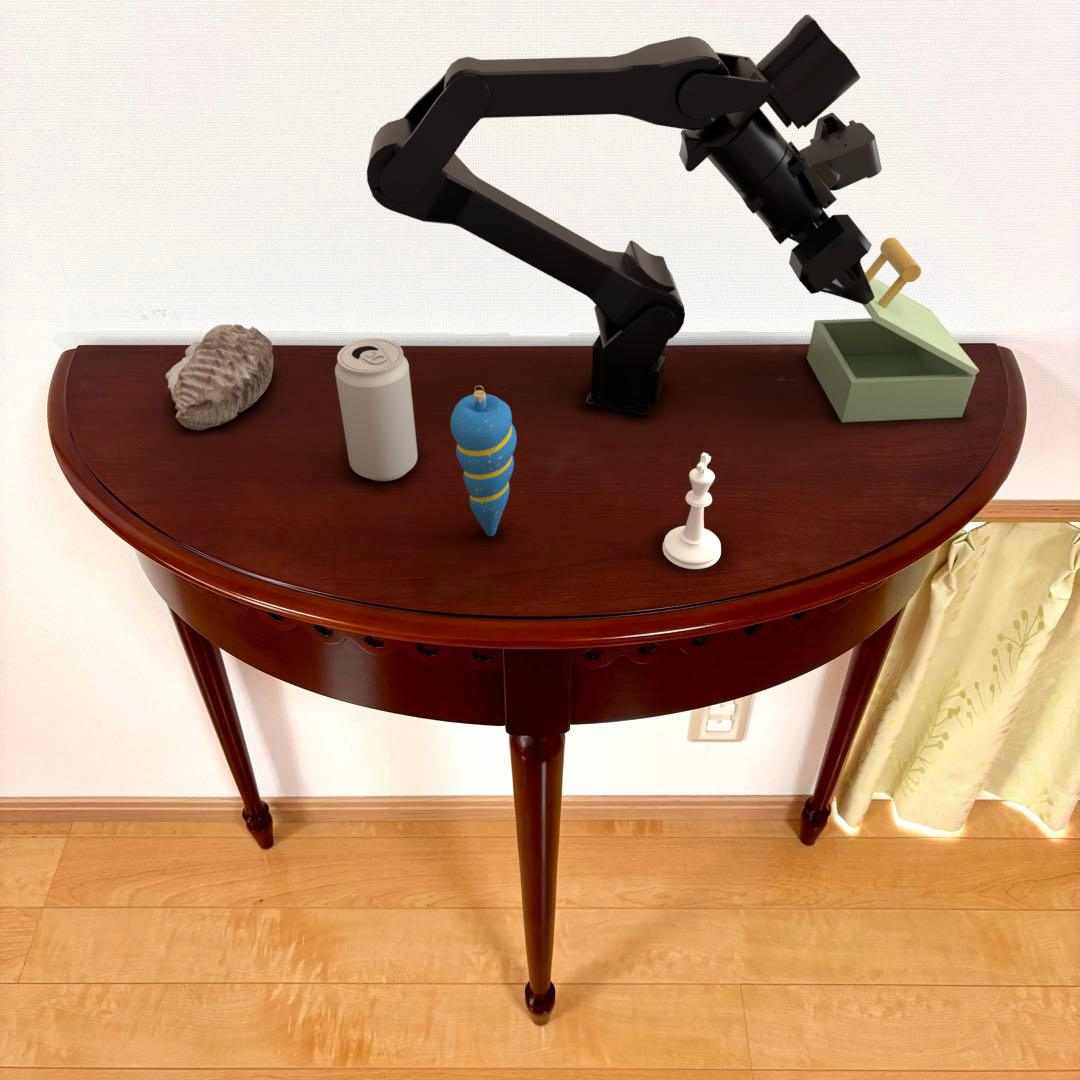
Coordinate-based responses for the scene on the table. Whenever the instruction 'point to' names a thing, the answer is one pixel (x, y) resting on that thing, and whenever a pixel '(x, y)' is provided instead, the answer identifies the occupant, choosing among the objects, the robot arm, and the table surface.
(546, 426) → the table surface
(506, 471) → the ornament
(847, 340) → the chest
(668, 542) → the chess piece
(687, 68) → the robot arm
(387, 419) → the beverage can
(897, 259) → the chest lid
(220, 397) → the seashell
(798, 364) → the table surface
